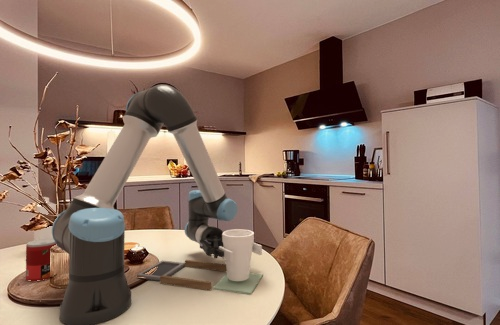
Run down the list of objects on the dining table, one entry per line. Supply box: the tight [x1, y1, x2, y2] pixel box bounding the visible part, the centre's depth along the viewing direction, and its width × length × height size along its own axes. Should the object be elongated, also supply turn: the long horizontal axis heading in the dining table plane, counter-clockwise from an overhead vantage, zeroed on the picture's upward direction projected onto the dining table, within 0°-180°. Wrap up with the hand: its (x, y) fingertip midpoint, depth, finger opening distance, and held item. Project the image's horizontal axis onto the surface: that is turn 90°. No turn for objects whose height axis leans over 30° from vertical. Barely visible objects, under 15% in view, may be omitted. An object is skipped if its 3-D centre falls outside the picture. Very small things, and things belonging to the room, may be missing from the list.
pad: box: [212, 272, 264, 296], centre depth 81 cm, size 13×11×1 cm
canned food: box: [25, 238, 56, 282], centre depth 85 cm, size 8×8×11 cm
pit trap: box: [136, 260, 186, 283], centre depth 88 cm, size 13×9×1 cm
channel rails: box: [159, 259, 227, 291], centre depth 85 cm, size 15×16×2 cm
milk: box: [33, 196, 57, 241], centre depth 109 cm, size 6×6×22 cm
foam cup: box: [222, 228, 255, 281], centre depth 81 cm, size 10×9×13 cm
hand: (246, 253), depth 78 cm, fingers closed on foam cup, 9 cm apart
